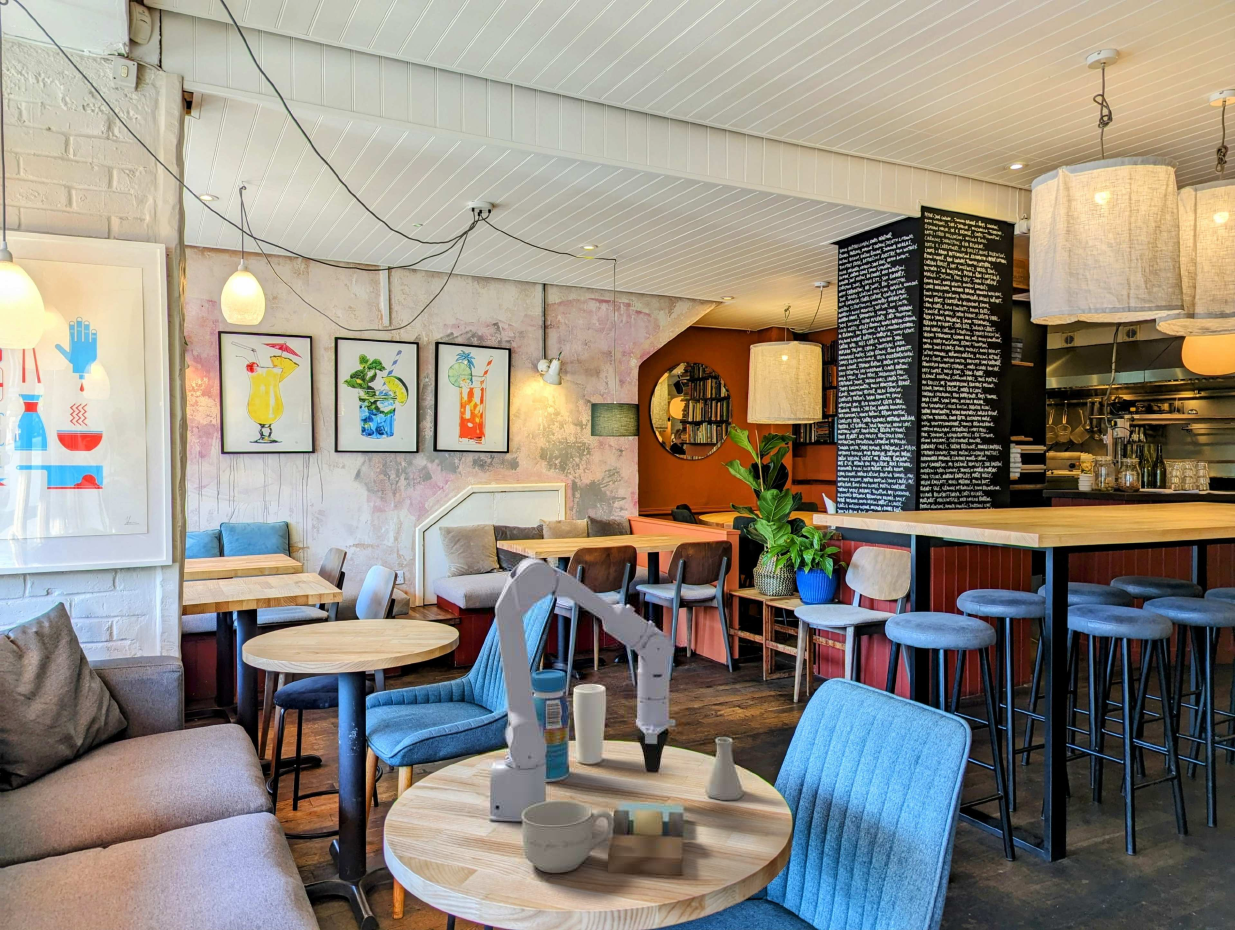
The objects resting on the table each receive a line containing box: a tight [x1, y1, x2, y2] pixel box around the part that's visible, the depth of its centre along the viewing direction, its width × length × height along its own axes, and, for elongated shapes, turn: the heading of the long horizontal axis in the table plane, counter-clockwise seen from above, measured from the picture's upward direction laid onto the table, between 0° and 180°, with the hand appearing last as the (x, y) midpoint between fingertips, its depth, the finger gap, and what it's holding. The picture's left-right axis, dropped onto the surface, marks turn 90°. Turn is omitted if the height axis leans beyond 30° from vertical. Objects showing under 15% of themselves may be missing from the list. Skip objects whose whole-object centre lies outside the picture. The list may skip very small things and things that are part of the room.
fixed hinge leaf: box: [607, 809, 684, 876], centre depth 126 cm, size 11×12×5 cm
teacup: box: [522, 800, 614, 874], centre depth 123 cm, size 14×11×8 cm
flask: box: [704, 736, 745, 801], centre depth 151 cm, size 7×7×10 cm
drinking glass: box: [572, 683, 607, 765], centre depth 168 cm, size 7×7×15 cm
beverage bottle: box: [531, 669, 571, 783], centre depth 160 cm, size 8×8×20 cm
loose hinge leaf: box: [617, 802, 684, 837], centre depth 134 cm, size 11×12×5 cm
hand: (652, 771), depth 147 cm, fingers closed
